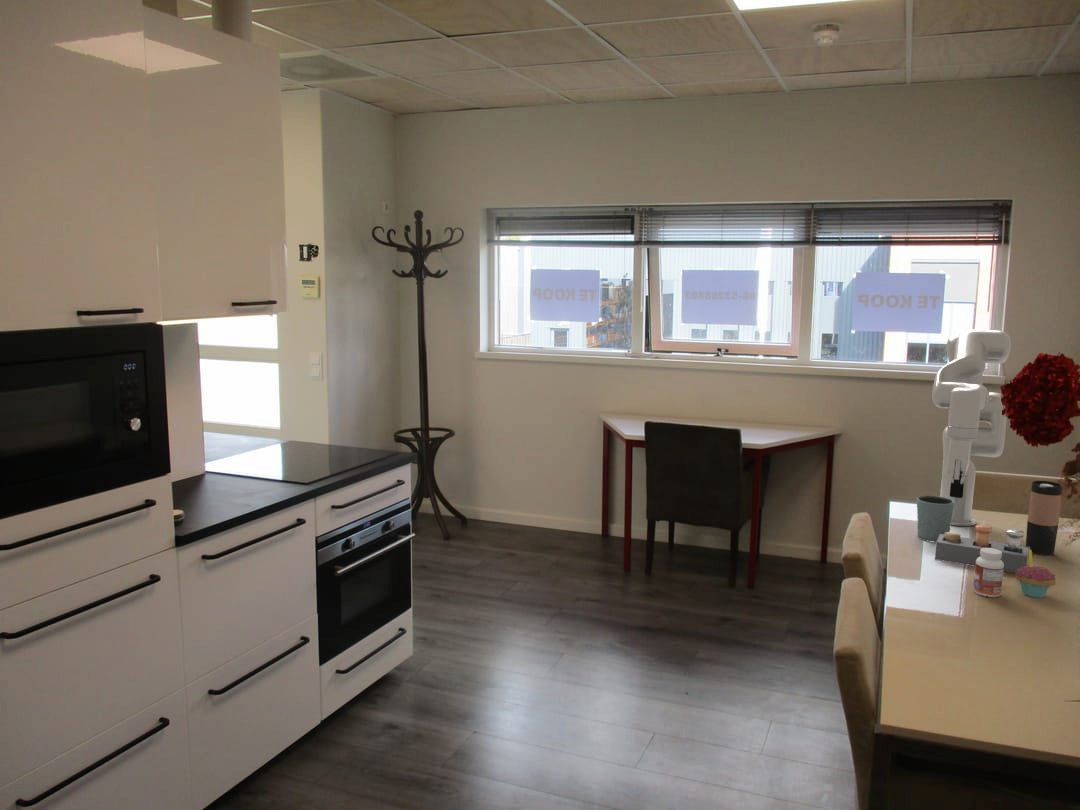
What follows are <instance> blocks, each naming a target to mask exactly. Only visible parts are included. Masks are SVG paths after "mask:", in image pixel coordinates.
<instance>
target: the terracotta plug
mask: <svg viewBox="0 0 1080 810" xmlns="http://www.w3.org/2000/svg"><path fill="white" fill-rule="evenodd" d="M974 530H975V531H976V535H975V536H976V537H975V539H976V544H975V546H980V547H986V548H988V546H989V541H990V535H991V533H992V531H993V527H992V526H991V525H989V524H988V525H987V524H983V523H982V524H977V523H976V524H975V529H974Z"/></svg>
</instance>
